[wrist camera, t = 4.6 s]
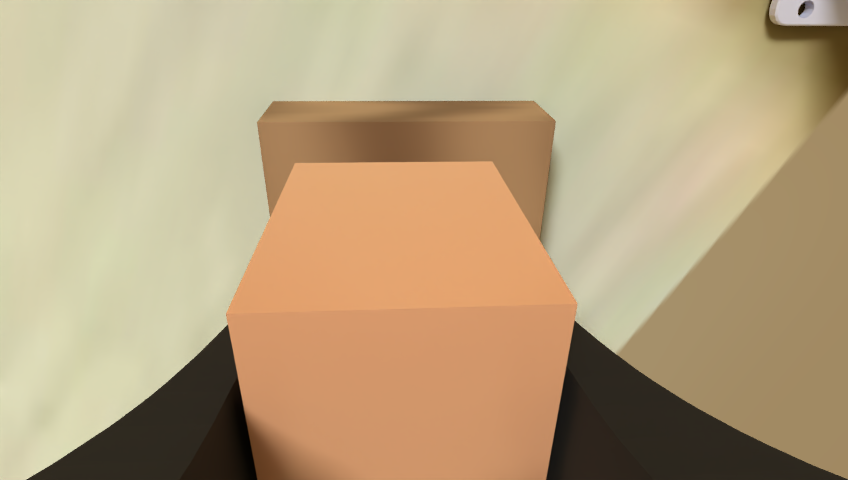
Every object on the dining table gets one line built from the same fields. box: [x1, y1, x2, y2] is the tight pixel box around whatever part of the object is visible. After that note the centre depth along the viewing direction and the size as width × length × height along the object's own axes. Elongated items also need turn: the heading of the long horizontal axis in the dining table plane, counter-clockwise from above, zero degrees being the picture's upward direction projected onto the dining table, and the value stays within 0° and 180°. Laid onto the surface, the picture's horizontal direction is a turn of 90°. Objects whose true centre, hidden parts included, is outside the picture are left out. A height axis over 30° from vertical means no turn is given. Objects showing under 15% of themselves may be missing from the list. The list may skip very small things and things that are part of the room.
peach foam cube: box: [226, 161, 577, 480], centre depth 11 cm, size 5×5×6 cm
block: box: [257, 101, 556, 240], centre depth 19 cm, size 9×9×3 cm
